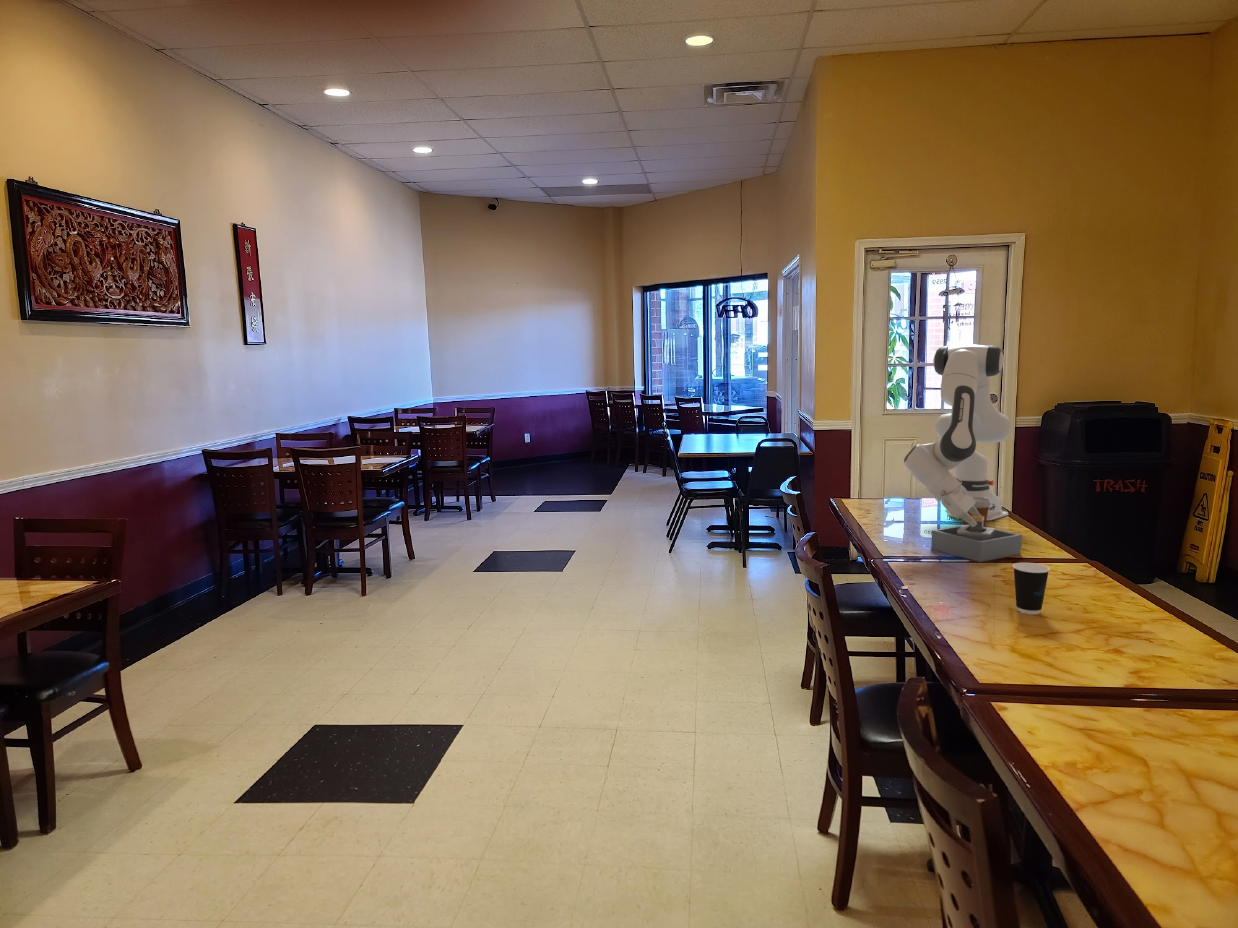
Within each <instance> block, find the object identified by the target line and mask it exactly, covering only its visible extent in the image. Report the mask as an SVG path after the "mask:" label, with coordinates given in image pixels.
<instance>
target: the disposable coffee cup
mask: <svg viewBox="0 0 1238 928" xmlns="http://www.w3.org/2000/svg"><path fill="white" fill-rule="evenodd" d="M973 498H974V500H975V502H976V503H975V504H974V505H973V506H974V507H975V508H976V509H977V511H978V512H979V514H980V515H981V516H984V526H983V527H986V524H987V520H986V519H987V514H988V509H989V506H990V503H989V500H988V499H985V498H979V497H973ZM967 513H968V514H969V516H971V515H972V514H971V513H970V512H969V511H968V512H967ZM961 521H962V525H967V524H969V523H967V522H966V521H964V520H963V519H961Z"/></svg>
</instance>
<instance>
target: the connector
mask: <svg viewBox="0 0 1238 928" xmlns="http://www.w3.org/2000/svg"><path fill="white" fill-rule="evenodd" d="M971 517H972V518H973V519H975V520H976V522H977V525H976V526H974V527H972V526H971V525H970V524H969V531H978V532H983V526H984V516H976V515H971Z"/></svg>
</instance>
